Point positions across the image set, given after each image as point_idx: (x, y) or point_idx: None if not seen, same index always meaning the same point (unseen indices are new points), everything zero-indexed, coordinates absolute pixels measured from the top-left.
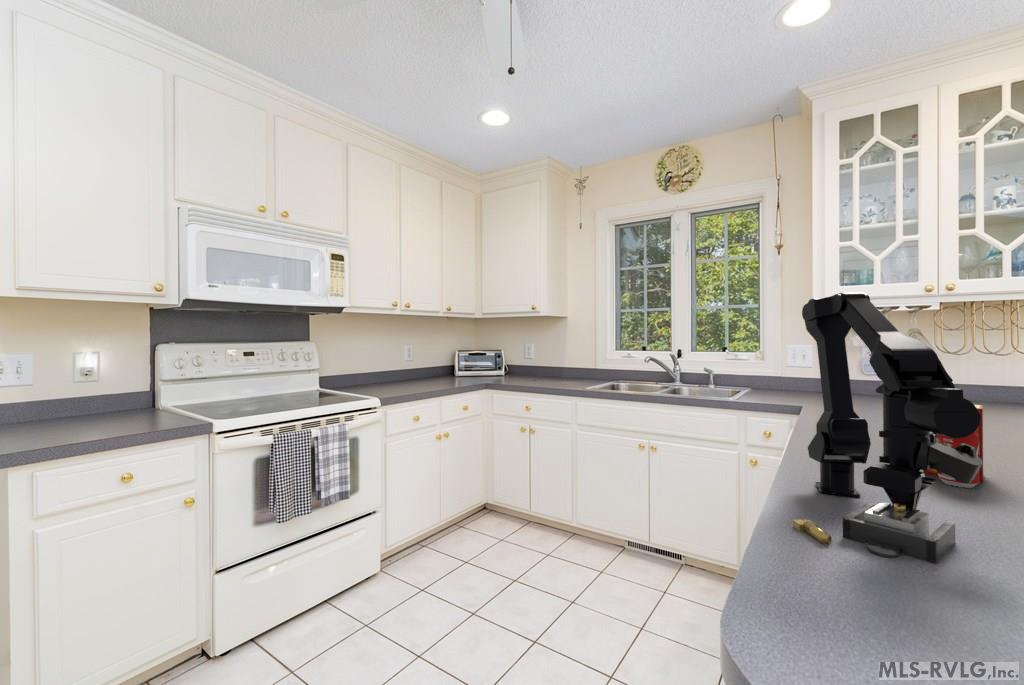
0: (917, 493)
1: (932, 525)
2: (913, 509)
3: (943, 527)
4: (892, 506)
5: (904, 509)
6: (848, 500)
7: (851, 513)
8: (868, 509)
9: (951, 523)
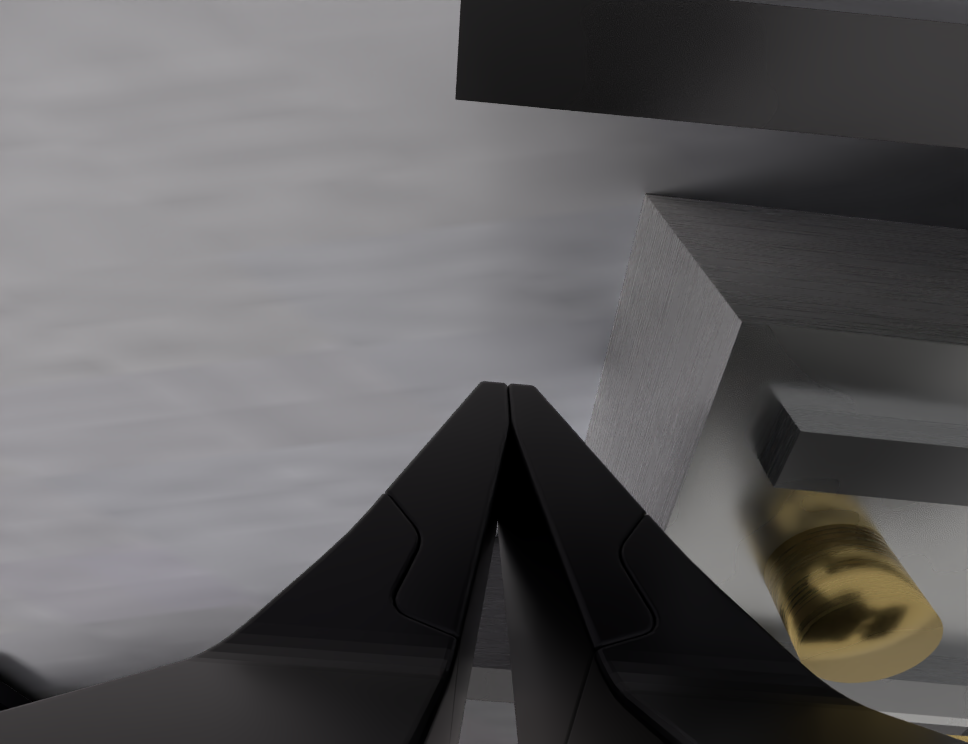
0: (646, 669)
1: (108, 229)
2: (577, 469)
3: (858, 91)
4: None
5: (888, 558)
6: (107, 679)
7: None
8: None
9: (561, 17)
